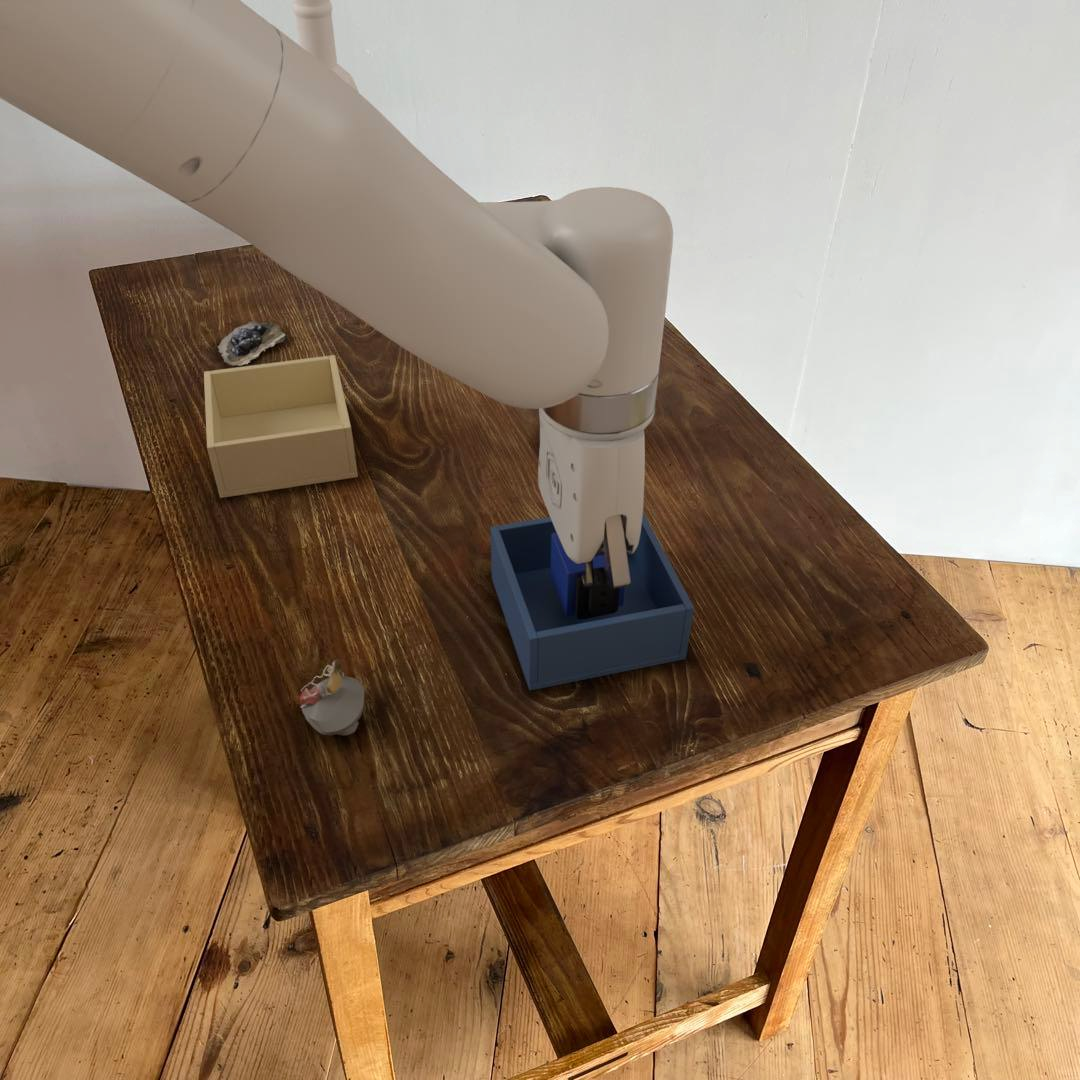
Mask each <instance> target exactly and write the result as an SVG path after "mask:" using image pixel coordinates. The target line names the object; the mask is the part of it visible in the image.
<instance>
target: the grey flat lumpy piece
mask: <svg viewBox="0 0 1080 1080" xmlns="http://www.w3.org/2000/svg"><path fill="white" fill-rule="evenodd" d="M285 333H286V332H284V331H283V330H282V328H280V325H279V324H276V323H270V324H269V322H263V323H262V322H261V323H258V321H255V320H251V321H248V322H247V323H246V324H243V325H240V326H237V327H236V328H233V331H231V332H229V333H228V335H226V336H225V337H223V338H222V339H221V341H220V343H219V345H217V348H218V353H219V354H221V355H220V356H221V357H222V359H223V362H224V363H225V364H226V365H229V366H232V367H234V366H238V367H241V366H243V365H244V366H245V365H249V363H251V361H253V360H255V359H257V358H259V356H260V354H261V353H262V352H263V351H264V352H266V349H268V348H270V347H271V348H272V347H275V345H276V344H280V343H283V342H284V341H286V339H287V335H286V334H285Z"/></svg>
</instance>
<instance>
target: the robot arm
mask: <svg viewBox="0 0 1080 1080" xmlns="http://www.w3.org/2000/svg"><path fill="white" fill-rule="evenodd" d="M358 92H359V91H358ZM358 92H357V91H356V90H354V89H353V88H352V87H351V86H350V85H349V84H348V83H346V82H345V81H344V80H343V79H342V78H341V77H339V76H338V75H337V74H336V73H335V72H334V71H332V70H331V69H330V68H329V67H327V66H326V65H325V64H323V63H322V62H321V61H320V60H318V59H317V58H315V57H314V56H313V55H311V54H310V53H309V52H307V51H306V50H305V49H303V48H302V47H301V46H300V44H298V43H297V42H296V41H294V40H293V39H291V37H289V36H288V35H286V34H285V33H284V32H283V31H282V30H280V29H279V28H277V27H276V26H275V25H274V24H272V23H270V22H269V21H268V20H266V19H265V17H263V16H261V15H260V14H259V13H257V12H256V11H255V10H254V9H253V8H251V7H250V6H248V5H247V3H245V2H243V1H242V0H0V99H1V100H3V101H4V102H6V103H7V104H10V105H11V106H13V107H15V108H16V109H18V110H20V111H22V112H24V113H25V114H27V115H29V116H30V117H32V118H34V119H35V120H37V121H39V122H41V123H42V124H44V125H46V126H48V127H50V128H52V129H53V130H55V131H57V132H59V133H60V134H62V135H64V136H66V137H67V138H69V139H70V140H72V141H74V142H76V143H78V144H80V145H81V146H82V147H84V148H86V149H88V150H90V151H92V152H94V153H95V154H97V155H99V156H100V157H102V158H103V159H106V160H108V161H110V163H113V164H115V165H116V166H118V167H120V168H122V169H123V170H125V171H127V172H128V173H130V174H132V175H134V176H136V178H139V179H141V180H142V181H144V182H146V183H148V184H150V185H151V186H152V187H155V188H157V189H158V190H160V191H162V192H164V193H165V194H167V195H169V196H171V197H172V198H174V199H176V200H178V201H179V202H181V203H183V204H185V205H186V206H188V207H189V208H191V209H193V210H195V211H197V213H200V214H202V215H203V216H205V217H207V218H209V219H211V220H212V221H214V223H217V224H218V225H221V226H223V227H224V228H225V229H227V230H229V231H231V232H232V233H234V234H236V235H237V236H239V237H240V238H242V239H243V240H245V241H246V242H248V243H249V244H251V245H252V246H253V247H255V248H256V249H257V250H258V251H260V252H261V253H262V254H263V255H265V256H266V257H268V258H269V259H270V260H272V261H273V262H274V263H275V264H277V265H278V266H279V267H281V268H282V269H284V270H285V271H287V272H288V273H290V274H291V275H293V276H294V277H295V278H297V279H299V280H300V281H302V282H304V283H305V284H307V285H308V286H310V287H311V288H313V289H315V290H316V291H318V292H320V293H321V294H323V295H324V296H326V297H327V298H329V300H332V301H333V302H335V303H336V304H338V305H340V306H341V307H342V308H344V309H346V310H347V311H348V312H350V313H351V314H353V315H354V316H356V317H357V318H358V319H360V320H361V321H362V322H364V323H366V324H367V325H369V326H370V327H371V328H373V329H375V331H377V332H379V333H380V334H382V335H383V336H385V337H386V338H388V339H390V341H392V342H393V343H395V344H397V345H398V346H400V347H401V348H402V349H404V350H405V351H407V352H409V353H410V354H412V355H414V356H415V357H417V359H420V360H421V361H423V362H425V363H426V364H428V365H430V366H432V367H434V368H435V369H437V370H438V371H440V372H442V373H443V374H446V375H447V376H449V377H450V378H453V379H455V380H457V381H458V382H460V383H462V384H464V385H465V386H467V387H469V388H471V389H473V390H474V391H476V392H478V393H481V394H482V395H484V396H486V397H488V398H490V399H492V400H493V401H496V402H498V403H500V404H503V405H505V406H508V407H513V408H518V409H524V410H539V409H540V411H541V414H542V424H541V437H540V436H539V451H538V452H539V453H538V467H537V469H538V470H537V485H538V489H539V492H540V495H541V498H542V500H543V504H544V505H545V509H546V510H547V513H548V515H549V517H550V518H551V520H552V523H553V525H554V527H555V530H556V532H557V534H558V537H559V539H560V541H561V543H562V546H563V548H564V550H565V552H566V554H567V556H568V557H569V558H570V559H571V560H572V561H574V562H575V563H577V564H581V571H582V576H580V577H577V582H576V601H575V614H576V616H577V618H578V619H586V618H592V617H597V616H602V615H608V614H613V613H615V612H617V610H618V604H619V593H620V587H626V586H630V574H629V566H628V559H627V552H628V553H629V554H633V553H634V551H635V550H636V548H637V546H638V543H639V539H640V533H641V526H642V516H643V512H644V503H645V502H644V501H645V480H646V479H645V477H646V476H645V475H646V474H645V472H646V444H645V443H646V442H645V441H646V440H645V439H646V438H645V437H646V436H645V429H646V428H647V427H648V426H649V425H650V423H651V422H652V421H653V418H654V417H655V412H656V405H657V404H656V402H657V394H658V386H659V385H658V383H659V375H660V362H661V354H662V346H663V345H662V344H663V336H664V327H665V320H666V310H667V303H668V301H667V299H668V293H669V283H670V282H669V281H670V273H671V264H672V255H673V246H674V228H673V222H672V219H671V217H670V216H671V215H670V214H669V213H668V210H667V209H666V208H665V206H663V204H662V203H660V202H659V201H658V200H656V199H655V198H653V197H651V196H650V195H648V194H646V193H643V192H640V191H637V190H633V189H629V188H624V187H622V188H621V187H614V186H598V187H587V188H583V189H579V190H576V191H573V192H569V193H568V194H566V195H564V196H562V197H561V198H559V199H554V200H541V201H478V200H477V199H476V198H474V197H473V196H472V195H471V194H470V193H468V192H467V191H466V190H465V189H463V188H462V186H460V185H459V184H457V183H456V182H455V181H454V180H453V179H452V178H451V177H449V175H447V174H446V173H444V171H442V170H441V169H440V168H439V167H438V166H437V165H436V164H435V163H433V162H432V161H431V160H430V159H429V158H427V157H426V155H424V153H422V151H421V150H420V149H418V148H417V147H416V146H414V144H412V143H411V141H410V140H409V139H408V138H407V137H406V136H405V135H404V134H403V133H402V132H401V131H400V130H398V129H397V127H396V126H395V125H394V124H393V123H392V122H391V121H390V120H389V119H388V118H387V117H386V116H385V115H384V114H383V113H381V111H380V110H379V109H378V108H377V107H375V106H374V105H373V104H372V103H371V102H370V101H369V100H368V99H366V98H365V97H364V96H363V95H362V94H361V93H360V92H359V93H358ZM599 555H605V560H606V566H605V567H599V568H594V569H593V558H594V556H599Z"/></svg>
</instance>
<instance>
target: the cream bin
mask: <svg viewBox="0 0 1080 1080" xmlns="http://www.w3.org/2000/svg"><path fill="white" fill-rule="evenodd" d="M203 384H204V385H203V386H204V406H205V407H204V409H205V429H206V432H205V433H206V449H207V453H208V458H209V461H210V464H211V469H212V472H213V477H214V479H215V483H216V487H217V492H218V495H219V496H218V497H219V498H220V499H223V498H229V497H230V498H231V497H237V496H245V495H250V494H257V493H263V492H270V491H275V490H282V489H290V488H295V487H300V486H302V487H303V486H308V485H314V484H315V485H316V484H321V483H328V482H336V481H341V480H347V479H354V478H358V477H359V473H358V467H357V459H356V453H355V445H354V439H353V438H354V437H353V431H352V425H351V420H350V415H349V411H348V408H347V407H348V406H347V403H346V397H345V394H344V388H343V384H342V380H341V375H340V371H339V367H338V362H337V358H336V355H335V354H331V355H324V356H316V357H315V356H314V357H307V358H301V359H300V358H299V359H292V360H291V359H290V360H285V361H277V362H269V363H261V364H254V365H244V366H238V367H229V368H221V369H214V370H207V371H206V370H205V371H203Z"/></svg>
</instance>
